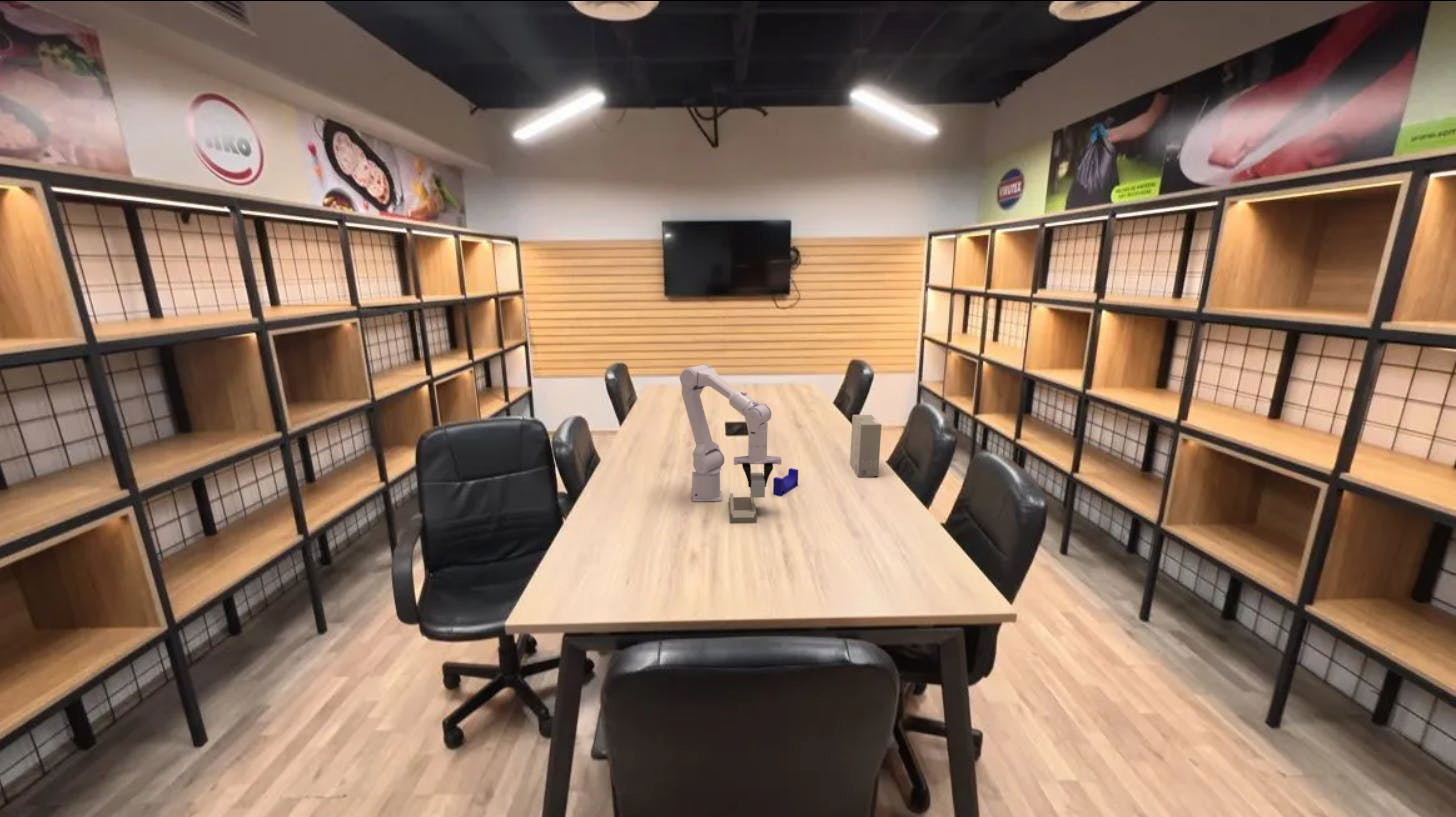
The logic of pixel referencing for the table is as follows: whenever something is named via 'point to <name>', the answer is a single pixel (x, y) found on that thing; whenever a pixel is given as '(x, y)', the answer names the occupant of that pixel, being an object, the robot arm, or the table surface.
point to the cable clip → (785, 483)
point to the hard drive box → (865, 445)
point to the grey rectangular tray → (742, 509)
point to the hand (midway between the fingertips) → (757, 486)
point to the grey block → (757, 485)
